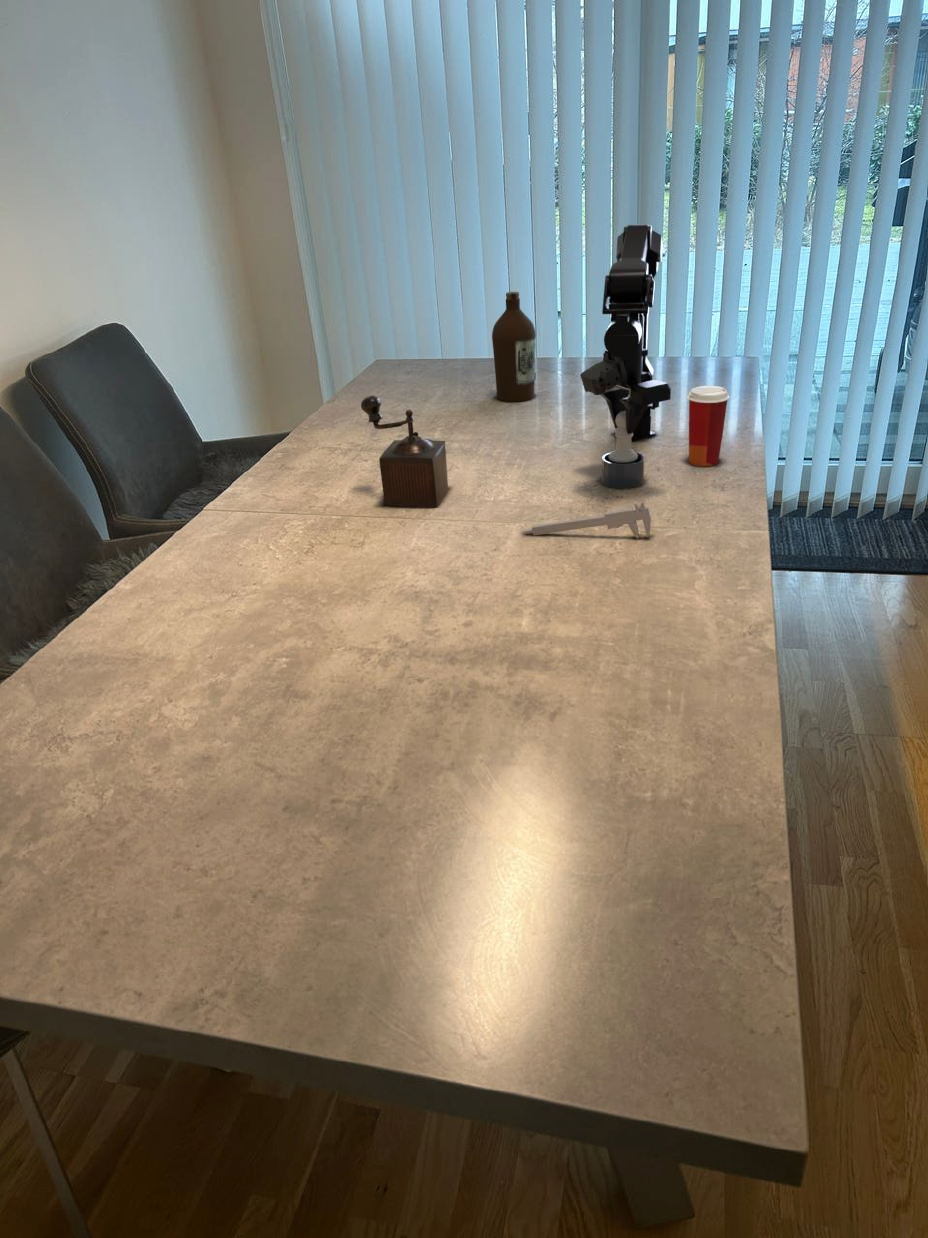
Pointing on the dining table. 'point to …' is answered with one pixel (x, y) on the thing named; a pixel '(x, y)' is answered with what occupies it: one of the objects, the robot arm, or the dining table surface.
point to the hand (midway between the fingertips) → (623, 431)
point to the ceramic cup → (622, 472)
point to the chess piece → (622, 442)
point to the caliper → (600, 521)
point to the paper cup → (706, 424)
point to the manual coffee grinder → (409, 464)
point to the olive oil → (514, 353)
